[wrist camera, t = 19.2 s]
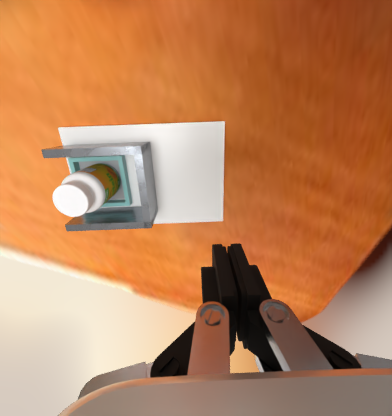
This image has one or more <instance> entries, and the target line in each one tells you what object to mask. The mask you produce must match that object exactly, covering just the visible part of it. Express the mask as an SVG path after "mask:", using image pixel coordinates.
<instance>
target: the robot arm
mask: <svg viewBox="0 0 392 416" xmlns="http://www.w3.org/2000/svg"><path fill="white" fill-rule="evenodd" d="M201 277H202V298H203V304H202V305H201V306H200V307H199V308H198V311H197V314H196V321H195V322H194V323H193V324H192V325H191V326H190V327H189V328H188V329H186V330H185V331H184V333H182V334H181V335H180V336H179V337H178V338H177V339H176V340H175V341H174V342H173V343H172V344H171V345H170V346H168V347H167V348H166V349H165V350H164V351H163V352H162V353H161V354H160V355H159V356H158V357H157V359H155V361H154V362H152V363H148V364H146V363H145V362H142V363H139V364H135V365H132V366H129V367H125V368H122V369H119V370H115V371H112V372H108V373H105V374H101V375H98V376H96V377H94V378H92V379H91V380H90V381H89V382H87V383H86V385H85V386H84V388H83V389H82V390H81V392H80V395H79V397H78V400H77V401H76V402H74V403H72V404H71V405H70V406H68V407H67V408H66V409H65V410H63V411H62V412H61V413H60V414H59V415H58V416H392V360H390V359H385V358H379V357H374V356H368V355H363V354H358V353H356V355H355V356H353V355H351V354H350V353H349V352H348V351H346V350H345V349H343V348H341V347H339V346H338V345H336V344H335V343H333V342H331V341H329V340H327V339H326V338H324V337H322V336H321V335H319V334H317V333H315V332H314V331H312V330H310V329H309V328H307V327H305V326H304V325H302V324H301V323H300V321H299V320H298V318H297V317H296V316H295V314H294V313H293V311H292V310H291V309H290V308H289V306H288V305H286V304H285V303H283V302H281V301H279V300H275V299H272V298H271V296H270V294H269V291H268V289H267V287H266V285H265V283H264V280H263V278H262V276H261V274H260V271H259V269H258V267H257V266H256V265H249V263H248V261H247V258H246V256H245V253H244V251H243V248H242V246H241V244H231V246H228V249H227V251H226V247H222V244H215V245H212V267H201ZM236 332H237V337H238V340H239V341H242V342H243V347H244V349H248V350H249V351H251V352H252V353H253V354H254V358H255V361H256V364H257V366H258V369H259V371H260V372H255V373H230V355H231V354H232V352H233V351H234V349H235V341H236Z"/></svg>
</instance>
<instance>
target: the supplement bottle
mask: <svg viewBox="0 0 392 416" xmlns="http://www.w3.org/2000/svg"><path fill="white" fill-rule="evenodd" d="M120 185H121V180H120V176H119V174H118V173H117V171H116V170H115V169H114V168H113V167H111V166H110V165H107V164H103V163H97V164H94V165H91V166H89V167H86V168H84V169H81V170H79V171H77V172H74V173H72V174H70V175H68V176H67V177H66V178H65V179H64V180H63V181H62V184H61V186H59V187H57V188H56V189H55V191H54V193H53V202H54V205H55V206H56V208H57V209H58V210H59V211H60V212H61V213H63V214H65V215H67V216H71V217H78V216H81V215H83V214H84V213H90V212H93V211H96V210H97V209H99V208H100V207H101V206H102V205H103V204H104V203H106V202H107V201H108V200H109V199H110V198H111V197H112V196H113V195H115V194H116V193H117V191H118V190H119V188H120Z"/></svg>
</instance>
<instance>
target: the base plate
mask: <svg viewBox="0 0 392 416" xmlns="http://www.w3.org/2000/svg"><path fill="white" fill-rule="evenodd" d="M58 130H59V133H60V137H61V141H62V144H63V146H65V145H76V144H102V143H129V142H150V145H151V154H152V162H153V171H154V180H155V188H156V197H157V206H158V213H157V215H156V218H155V221H154V223H153V224H162V223H187V222H213V221H223V195H224V137H225V121H218V122H191V123H165V124H139V125H113V126H86V127H60V128H58ZM66 159H67V163H68V166H69V170H70V174H72V173H74V172H77V171H79V170H81V169H84V168H86V167H89V166H91V165H94V164H97V163H103V164H107V165H110V166H111V167H113V168H114V169H115V170H116V171H117V173H118V174H119V176H120V180H121V185H120V188H119V190H118V191H117V193H116V194H115V195H113V196H112V197H111V198H110V199H109V200H108V201H107V202H106V203H104V204H103V205H102V206H101V207H100V208H110V207H135V206H141V201H140V194H139V187H138V181H137V174H136V167H135V161H134V155H112V156H86V157H66Z"/></svg>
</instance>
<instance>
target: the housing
mask: <svg viewBox="0 0 392 416" xmlns="http://www.w3.org/2000/svg"><path fill="white" fill-rule="evenodd" d="M42 154H43V157H44V158H60V157H86V156H112V155H134V161H135V167H136V174H137V181H138V187H139V194H140V201H141V206H135V207H110V208H99V209H97V210H96V211H93V212H90V213H84V214H83V215H81V216H78V217H74V218H73V219H72V220H71V221H69V222H68V223H67V224H66V225H65V227H66V230H67V231H86V230H112V229H138V228H152V226H153V223H154V221H155V218H156V215H157V213H158V206H157V197H156V188H155V180H154V171H153V162H152V154H151V145H150V142H129V143H102V144H76V145H65V146H59V147H54V148H48V149H42Z"/></svg>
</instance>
